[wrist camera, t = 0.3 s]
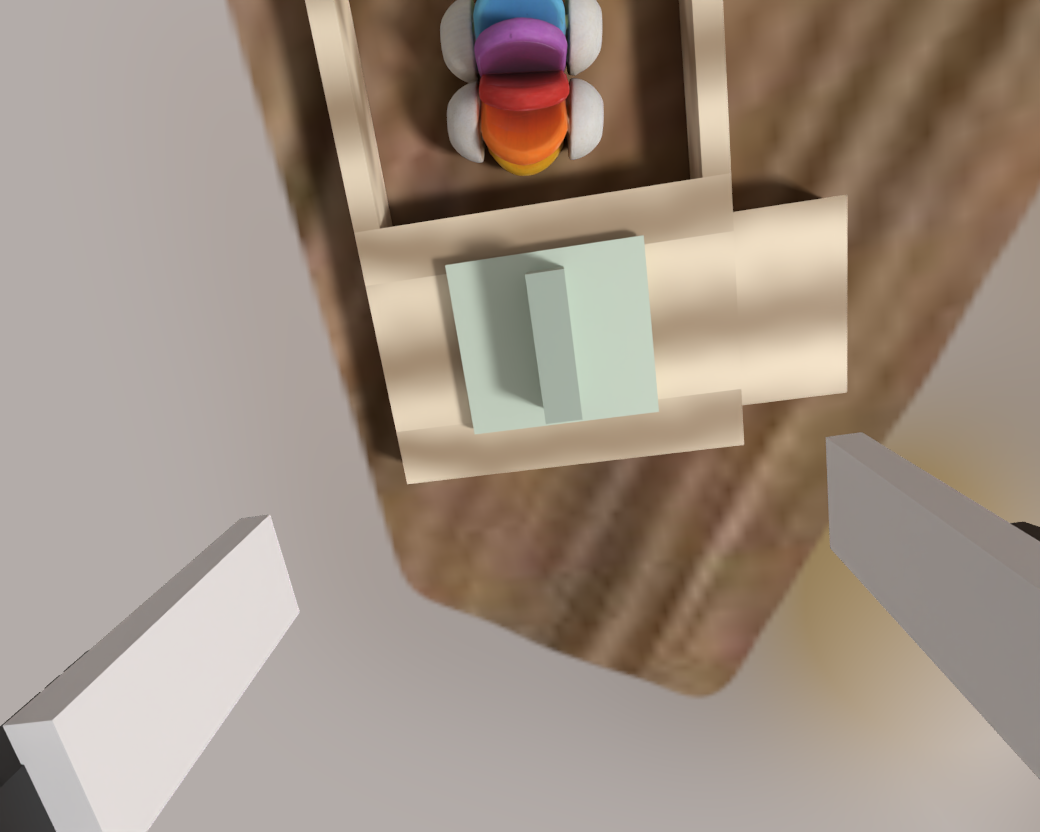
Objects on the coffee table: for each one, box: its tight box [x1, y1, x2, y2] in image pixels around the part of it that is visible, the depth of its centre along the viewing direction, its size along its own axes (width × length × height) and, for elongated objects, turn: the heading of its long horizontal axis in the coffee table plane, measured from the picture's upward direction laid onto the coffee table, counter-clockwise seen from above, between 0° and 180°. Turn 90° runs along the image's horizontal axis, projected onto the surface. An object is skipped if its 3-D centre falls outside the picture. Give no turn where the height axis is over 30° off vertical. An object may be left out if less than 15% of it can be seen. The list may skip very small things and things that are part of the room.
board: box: [305, 0, 847, 484], centre depth 35 cm, size 30×27×3 cm
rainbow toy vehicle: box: [440, 0, 603, 176], centre depth 31 cm, size 8×10×7 cm
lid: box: [445, 235, 659, 434], centre depth 33 cm, size 10×11×4 cm
